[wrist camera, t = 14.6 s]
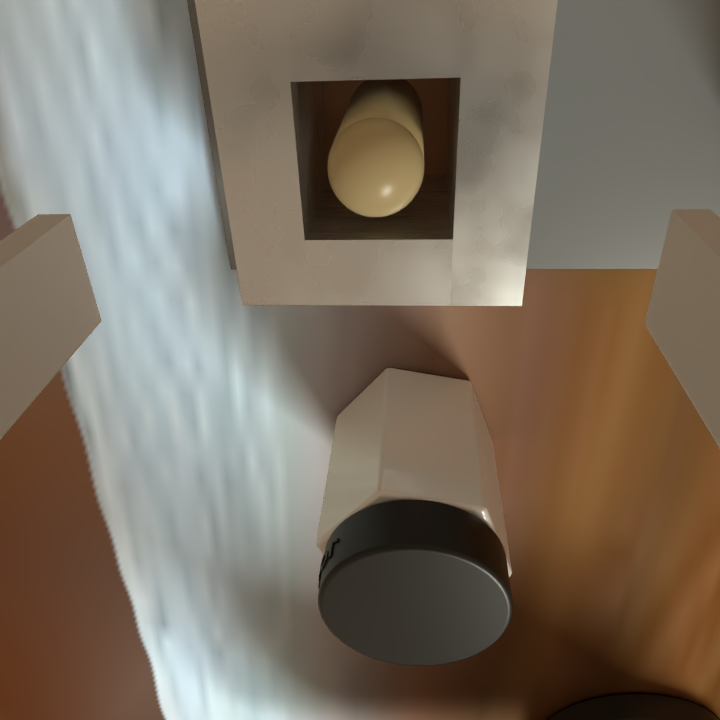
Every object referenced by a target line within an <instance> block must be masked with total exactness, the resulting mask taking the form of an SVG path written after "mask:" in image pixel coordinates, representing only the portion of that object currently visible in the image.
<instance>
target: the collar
mask: <svg viewBox="0 0 720 720" xmlns="http://www.w3.org/2000/svg"><path fill="white" fill-rule="evenodd" d="M557 3H558V0H195V6H196V12H197V18H198V25H199V31H200V38H201V44H202V50H203V57H204V63H205V69H206V76H207V82H208V89H209V95H210V101H211V108H212V114H213V120H214V127H215V133H216V140H217V146H218V152H219V159H220V165H221V172H222V178H223V184H224V191H225V197H226V203H227V210H228V216H229V223H230V229H231V235H232V242H233V248H234V254H235V261H236V267H237V274H238V280H239V286H240V293H241V299H242V305H422V306H522V299H523V290H524V282H525V273H526V265H527V256H528V248H529V239H530V231H531V223H532V214H533V206H534V197H535V189H536V180H537V172H538V163H539V155H540V146H541V138H542V129H543V121H544V113H545V104H546V96H547V87H548V79H549V70H550V62H551V53H552V45H553V36H554V28H555V19H556V11H557ZM421 78H449V86H448V113H447V139H446V166H445V174H439V175H423V180H422V183H421V186H420V188H419V190H418V192H417V194H416V195H415V197H414V198H413V200H412V201H411V202H410V203H409V204H408V205H407V206H406V207H404V208H403V209H401V210H400V211H398V212H396V213H394V214H391V215H388V216H384V217H367V216H363V215H360V214H357V213H355V212H353V211H351V210H350V209H348V208H347V207H346V206H345V205H343V203H342V202H341V201H340V200H339V199H338V198H337V196H336V195H335V193H334V191H333V189H332V187H331V185H330V181H329V177H328V164H327V148H326V133H325V117H324V102H323V86H322V81H343V80H382V79H421Z"/></svg>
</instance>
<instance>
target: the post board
mask: <svg viewBox="0 0 720 720" xmlns="http://www.w3.org/2000/svg"><path fill="white" fill-rule="evenodd" d="M187 1H188V7H189V13H190V20H191V26H192V32H193V38H194V44H195V50H196V57H197V63H198V69H199V75H200V81H201V87H202V93H203V100H204V106H205V112H206V118H207V124H208V130H209V137H210V143H211V149H212V155H213V161H214V167H215V174H216V180H217V186H218V192H219V198H220V204H221V211H222V217H223V223H224V229H225V235H226V241H227V247H228V254H229V260H230V266H231V269H237V267H236V261H235V254H234V248H233V242H232V235H231V229H230V223H229V216H228V210H227V203H226V197H225V191H224V184H223V178H222V172H221V165H220V159H219V152H218V146H217V140H216V133H215V127H214V120H213V114H212V108H211V101H210V95H209V89H208V82H207V76H206V69H205V63H204V57H203V50H202V44H201V38H200V31H199V25H198V18H197V12H196V6H195V0H187ZM322 86H323V102H324V117H325V133H326V148H327V164H328V177H329V181H330V185H331V187H332V189H333V191H334V193H335V195H336V196H337V198H338V199H339V200H340V201H341V202H342V203H343V205H345V206H346V207H347V208H348V209H350V210H351V211H353V212H355V213H357V214H360V215H363V216H367V217H384V216H388V215H391V214H394V213H396V212H398V211H400V210H401V209H403V208H404V207H406V206H407V205H408V204H409V203H410V202H411V201H412V200H413V198H414V197H415V195H416V194H417V192H418V190H419V188H420V186H421V183H422V180H423V175H439V174H445V166H446V139H447V113H448V86H449V78H421V79H382V80H343V81H322ZM679 209H710V210H712V211H713V212H714V213H715V214H716V215H717V216H718V217H719V218H720V0H558V3H557V11H556V19H555V28H554V36H553V45H552V53H551V62H550V70H549V79H548V87H547V96H546V104H545V113H544V121H543V129H542V138H541V146H540V155H539V163H538V172H537V180H536V189H535V197H534V206H533V214H532V223H531V231H530V239H529V248H528V256H527V265H526V269H658V266H659V262H660V258H661V254H662V249H663V245H664V241H665V237H666V233H667V228H668V224H669V220H670V216H671V211H672V210H679Z"/></svg>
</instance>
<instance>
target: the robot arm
mask: <svg viewBox="0 0 720 720" xmlns="http://www.w3.org/2000/svg"><path fill="white" fill-rule="evenodd" d="M100 322H101V318H100V314H99V311H98V308H97V304H96V301H95V297H94V294H93V291H92V287H91V284H90V280H89V277H88V273H87V270H86V267H85V263H84V260H83V256H82V253H81V249H80V246H79V243H78V239H77V236H76V232H75V229H74V225H73V222H72V219H71V215H70V214H50V215H37V216H35V217H34V218H32V219H31V220H29V221H28V222H27V223H25V224H24V225H22V226H21V227H19V228H18V229H17V230H15V231H14V232H12V233H11V234H9V235H8V236H7V237H5V238H4V239H2V240H1V241H0V439H1V438H2V437H3V436H4V435H5V433H6V432H7V431H8V430H9V429H10V428H11V426H12V425H13V424H14V423H15V422H16V421H17V419H18V418H19V417H20V416H21V414H22V413H23V412H24V411H25V410H26V409H27V408H28V406H29V405H30V404H31V403H32V402H33V400H34V399H35V398H36V397H37V396H38V395H39V394H40V392H41V391H42V390H43V389H44V388H45V386H46V385H47V384H48V383H49V382H50V381H51V379H52V378H53V377H54V376H55V375H56V374H57V372H58V371H59V370H60V369H61V368H62V367H63V365H64V364H65V363H66V362H67V361H68V359H69V358H70V357H71V356H72V355H73V354H74V352H75V351H76V350H77V349H78V348H79V347H80V345H81V344H82V343H83V342H84V341H85V340H86V338H87V337H88V336H89V335H90V334H91V332H92V331H93V330H94V329H95V328H96V327H97V325H98V324H99V323H100ZM645 326H646V327H647V329H648V331H649V332H650V334H651V336H652V337H653V339H654V341H655V342H656V344H657V346H658V347H659V349H660V350H661V352H662V354H663V355H664V357H665V359H666V360H667V362H668V364H669V365H670V367H671V369H672V370H673V372H674V374H675V375H676V377H677V378H678V380H679V382H680V383H681V385H682V387H683V388H684V390H685V392H686V393H687V395H688V397H689V398H690V400H691V402H692V403H693V405H694V407H695V408H696V410H697V411H698V413H699V415H700V416H701V418H702V420H703V421H704V423H705V425H706V426H707V428H708V430H709V431H710V433H711V435H712V436H713V438H714V439H715V441H716V443H717V444H718V446H719V448H720V218H719V217H718V216H717V215H716V214H715V213H714V212H713V211H712V210H710V209H679V210H672V211H671V216H670V220H669V224H668V228H667V233H666V237H665V241H664V245H663V249H662V254H661V258H660V262H659V266H658V270H657V275H656V279H655V283H654V287H653V291H652V296H651V300H650V304H649V308H648V313H647V317H646V321H645ZM549 720H719V719H718V718H717V717H716V716H715V715H714V714H712V713H711V712H709V711H708V710H706V709H705V708H703V707H701V706H699V705H696V704H694V703H691V702H688V701H685V700H682V699H678V698H673V697H668V696H661V695H651V694H623V695H613V696H606V697H601V698H596V699H592V700H588V701H584V702H581V703H578V704H575V705H573V706H570V707H568V708H566V709H564V710H562V711H560V712H558V713H557V714H555V715H554V716H552V717H551V718H550V719H549Z"/></svg>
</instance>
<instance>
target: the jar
mask: <svg viewBox="0 0 720 720" xmlns="http://www.w3.org/2000/svg"><path fill="white" fill-rule="evenodd" d="M316 545H317V547H318V548H319V550H320V552H321V553H322V555H323V559H322V563H321V568H320V574H319V586H318V587H319V594H318V605H319V611H320V614H321V617H322V619H323V621H324V623H325V624H326V626H327V627H328V629H329V630H330V631H331V632H332V633H333V634H334V636H335V637H337V638H338V639H339V640H340V641H341V642H343V643H344V644H345V645H347V646H348V647H350V648H352V649H353V650H355V651H357V652H359V653H361V654H364V655H366V656H369V657H371V658H374V659H378V660H381V661H385V662H389V663H394V664H401V665H412V666H430V665H440V664H447V663H452V662H456V661H460V660H463V659H466V658H469V657H471V656H474V655H476V654H478V653H480V652H482V651H484V650H485V649H487V648H488V647H490V646H491V645H493V644H494V643H495V642H496V641H497V640H498V639H499V638H500V637H501V636H502V635H503V633H504V632H505V630H506V629H507V627H508V625H509V623H510V621H511V618H512V612H513V600H512V593H511V586H510V580H509V577H510V576H511V575H512V568H511V561H510V555H509V548H508V542H507V535H506V529H505V522H504V516H503V509H502V502H501V496H500V489H499V483H498V476H497V469H496V463H495V456H494V450H493V443H492V439H491V437H490V434H489V431H488V428H487V426H486V423H485V420H484V417H483V414H482V412H481V409H480V406H479V403H478V401H477V398H476V395H475V392H474V390H473V387H472V384H471V382H469V381H467V380H461V379H455V378H449V377H443V376H437V375H431V374H425V373H418V372H412V371H406V370H401V369H395V368H387V369H385V370H384V371H383V372H382V373H381V374H380V375H379V376H378V377H377V378H376V379H375V380H374V381H373V382H372V383H371V384H370V385H369V386H368V387H367V388H366V389H365V390H364V391H362V392H361V393H360V394H359V395H358V396H357V397H356V398H355V399H354V400H353V401H352V402H351V403H350V404H349V405H348V406H347V407H346V408H345V409H344V410H343V411H342V412H341V413H340V414H339V415H338V416H337V419H336V425H335V431H334V437H333V443H332V449H331V455H330V461H329V468H328V474H327V480H326V486H325V492H324V498H323V504H322V510H321V516H320V522H319V528H318V534H317V540H316Z"/></svg>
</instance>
